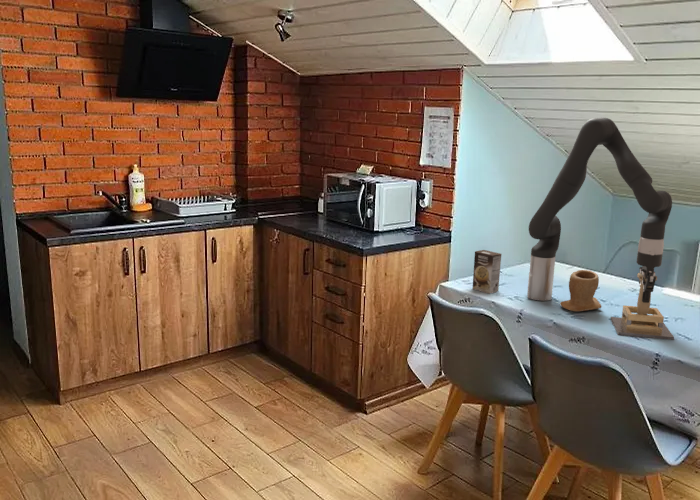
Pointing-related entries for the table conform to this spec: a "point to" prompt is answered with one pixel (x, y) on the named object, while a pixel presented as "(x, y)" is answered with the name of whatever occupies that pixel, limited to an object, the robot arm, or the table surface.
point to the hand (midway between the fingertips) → (644, 300)
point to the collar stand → (641, 324)
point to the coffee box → (486, 271)
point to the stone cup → (582, 291)
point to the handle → (641, 306)
